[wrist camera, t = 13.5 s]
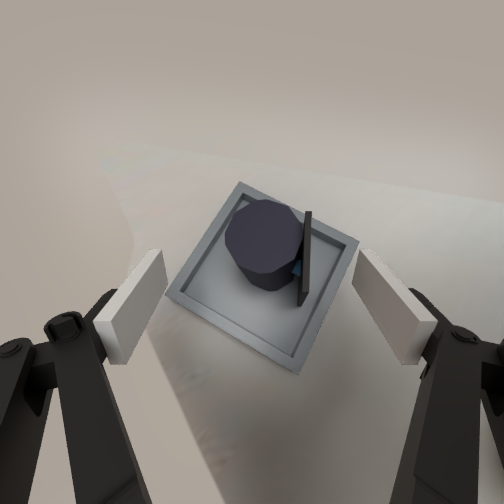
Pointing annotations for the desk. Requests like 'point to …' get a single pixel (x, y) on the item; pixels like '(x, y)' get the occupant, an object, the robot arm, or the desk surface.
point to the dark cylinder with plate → (271, 246)
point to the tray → (257, 299)
